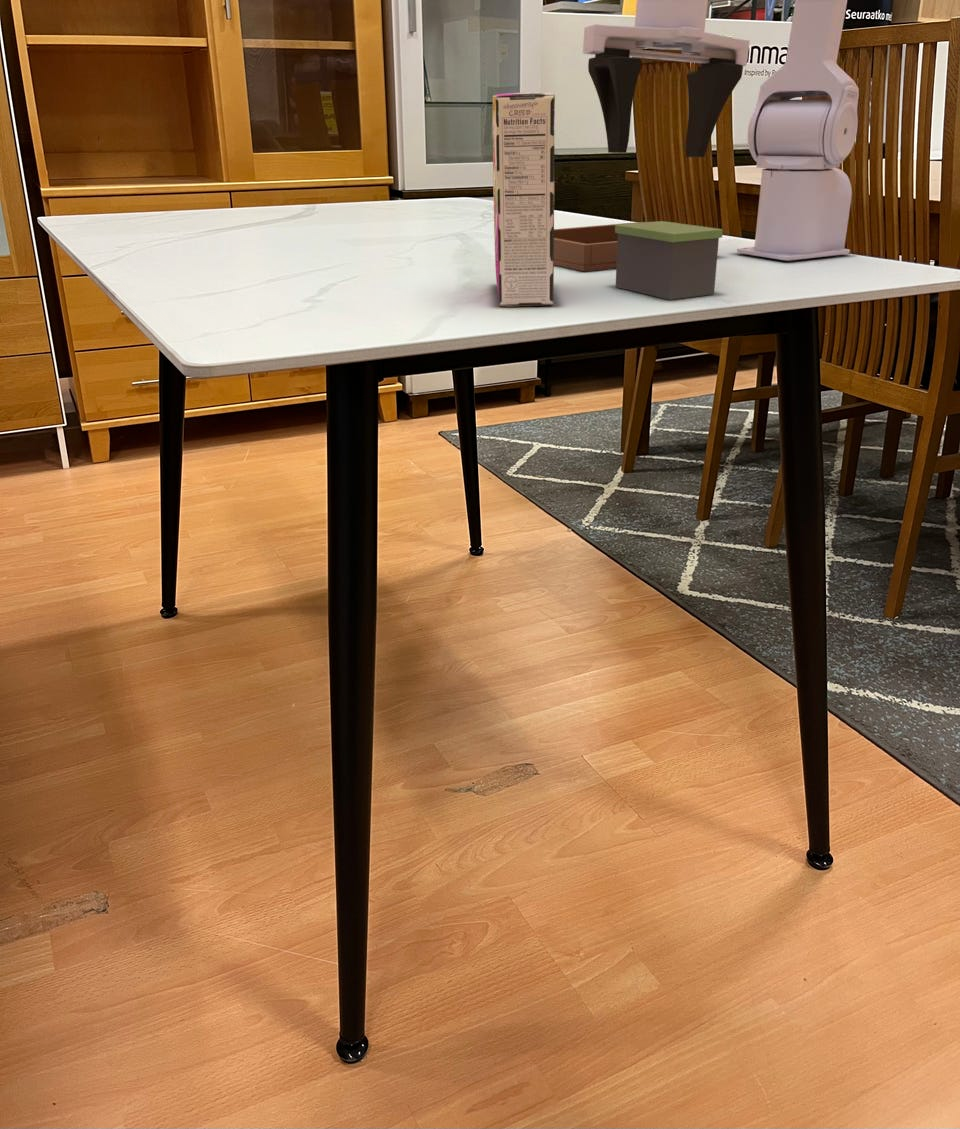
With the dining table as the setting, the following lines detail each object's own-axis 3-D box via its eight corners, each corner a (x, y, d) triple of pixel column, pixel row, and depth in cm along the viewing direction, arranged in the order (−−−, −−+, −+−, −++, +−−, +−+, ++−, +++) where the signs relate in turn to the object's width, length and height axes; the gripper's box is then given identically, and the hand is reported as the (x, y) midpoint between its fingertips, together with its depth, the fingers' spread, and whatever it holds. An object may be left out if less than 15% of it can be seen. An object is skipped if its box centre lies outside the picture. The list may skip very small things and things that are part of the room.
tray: (641, 244, 116) (643, 221, 115) (717, 257, 105) (719, 232, 104) (516, 256, 109) (516, 232, 108) (583, 271, 98) (584, 245, 97)
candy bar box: (493, 285, 91) (491, 93, 84) (545, 284, 91) (548, 92, 84) (495, 307, 81) (493, 91, 74) (554, 306, 81) (558, 90, 74)
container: (658, 281, 92) (662, 220, 89) (717, 294, 85) (723, 229, 83) (612, 286, 90) (614, 224, 87) (669, 300, 83) (673, 233, 80)
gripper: (618, -49, 72) (602, 150, 77) (780, -27, 76) (755, 158, 81) (577, -32, 78) (565, 151, 83) (730, -13, 82) (709, 159, 88)
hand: (656, 155), depth 83 cm, fingers open, 7 cm apart
